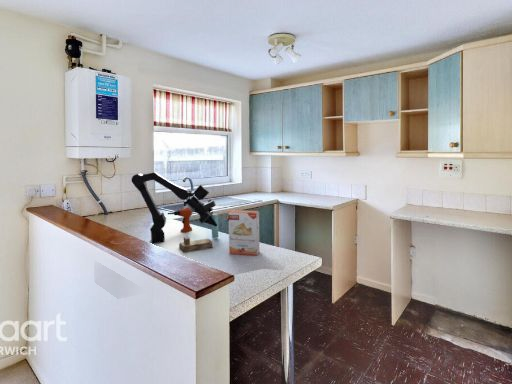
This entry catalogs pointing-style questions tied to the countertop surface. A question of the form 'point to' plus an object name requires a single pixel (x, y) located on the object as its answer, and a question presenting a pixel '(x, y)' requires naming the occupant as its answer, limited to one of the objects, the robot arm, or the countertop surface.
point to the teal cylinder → (215, 228)
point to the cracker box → (243, 232)
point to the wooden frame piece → (195, 247)
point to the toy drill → (186, 214)
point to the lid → (194, 242)
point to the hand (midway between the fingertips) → (217, 224)
